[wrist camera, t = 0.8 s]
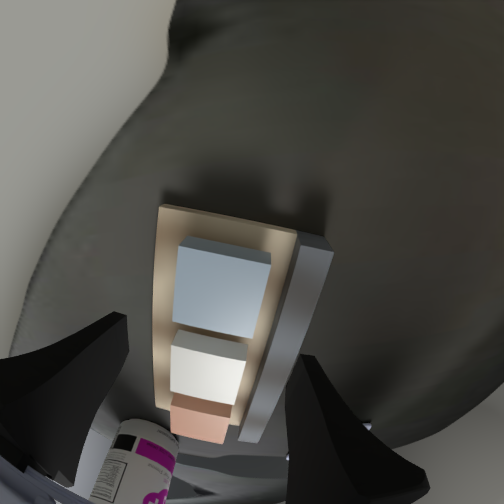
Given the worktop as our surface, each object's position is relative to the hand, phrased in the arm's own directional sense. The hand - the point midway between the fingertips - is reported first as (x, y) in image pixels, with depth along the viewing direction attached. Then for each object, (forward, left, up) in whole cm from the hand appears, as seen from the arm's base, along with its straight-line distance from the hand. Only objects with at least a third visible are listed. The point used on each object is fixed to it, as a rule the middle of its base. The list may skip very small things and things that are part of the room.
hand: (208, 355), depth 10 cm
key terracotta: (-14, 0, -7) cm, 16 cm away
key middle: (-7, 0, -7) cm, 10 cm away
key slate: (0, 0, -7) cm, 7 cm away
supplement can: (-27, +7, -10) cm, 29 cm away
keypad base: (-7, 0, -9) cm, 12 cm away
